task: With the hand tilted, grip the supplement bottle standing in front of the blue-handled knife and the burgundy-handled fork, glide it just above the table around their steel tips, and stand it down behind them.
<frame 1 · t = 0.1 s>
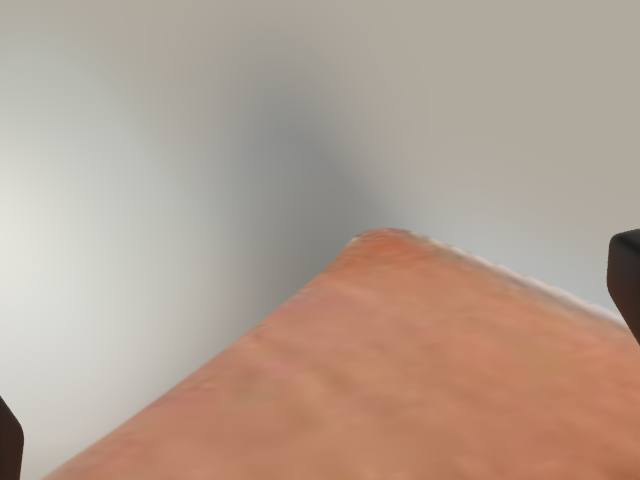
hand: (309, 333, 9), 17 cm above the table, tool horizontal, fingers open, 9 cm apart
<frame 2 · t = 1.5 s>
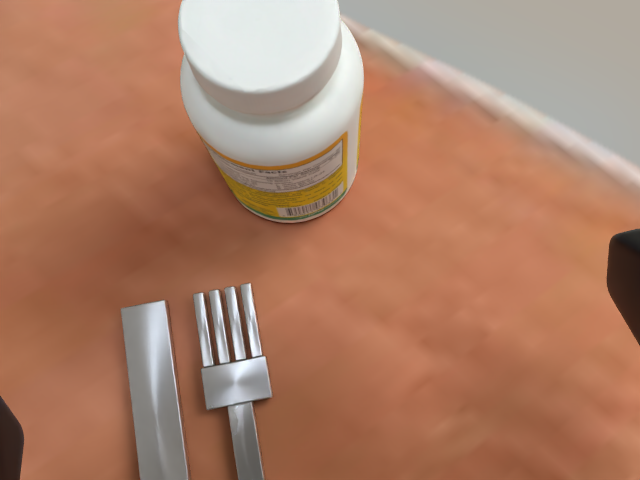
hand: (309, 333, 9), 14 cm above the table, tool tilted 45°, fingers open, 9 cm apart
supplement bottle: (292, 161, 24), on the table
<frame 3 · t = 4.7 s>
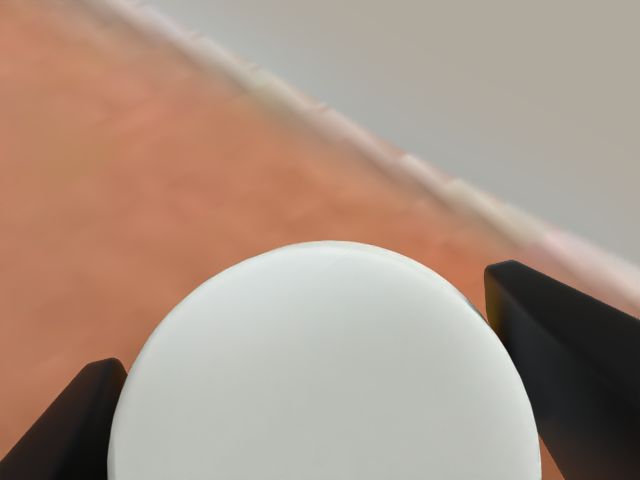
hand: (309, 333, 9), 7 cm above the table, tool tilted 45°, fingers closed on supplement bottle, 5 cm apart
supplement bottle: (338, 404, 15), on the table, touching gripper
when the fingers open (7 cm above the table, at t = 8.9 s): supplement bottle stays where it is, on the table.
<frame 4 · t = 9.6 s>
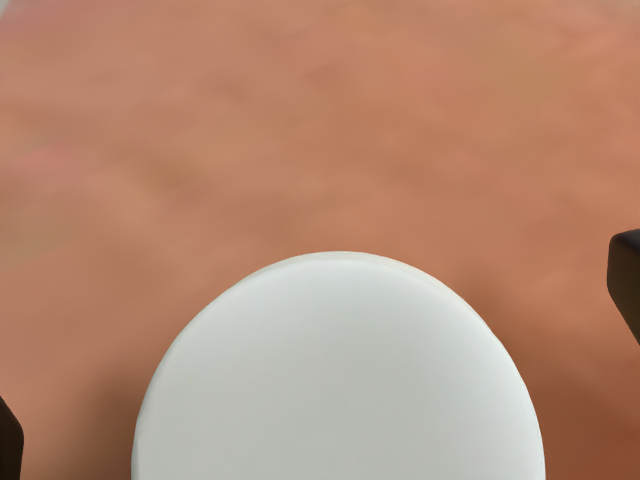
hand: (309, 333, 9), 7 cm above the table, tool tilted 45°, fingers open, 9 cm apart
supplement bottle: (342, 410, 15), on the table
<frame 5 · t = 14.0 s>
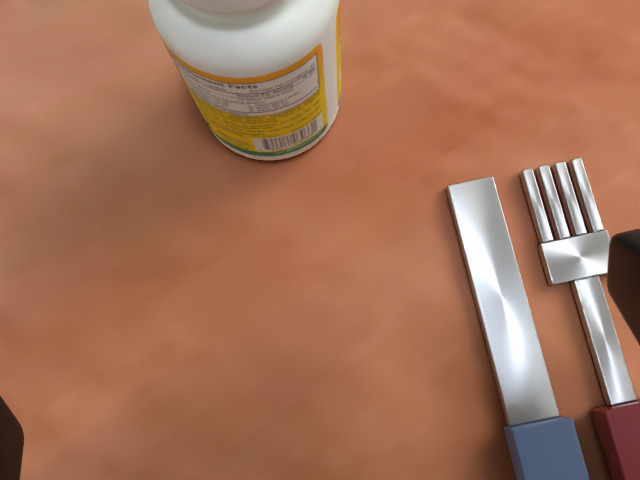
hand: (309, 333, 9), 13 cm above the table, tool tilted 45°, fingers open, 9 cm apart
supplement bottle: (273, 100, 23), on the table
knife: (521, 383, 20), on the table
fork: (607, 365, 20), on the table
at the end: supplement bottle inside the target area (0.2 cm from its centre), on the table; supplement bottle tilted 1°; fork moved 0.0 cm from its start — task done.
